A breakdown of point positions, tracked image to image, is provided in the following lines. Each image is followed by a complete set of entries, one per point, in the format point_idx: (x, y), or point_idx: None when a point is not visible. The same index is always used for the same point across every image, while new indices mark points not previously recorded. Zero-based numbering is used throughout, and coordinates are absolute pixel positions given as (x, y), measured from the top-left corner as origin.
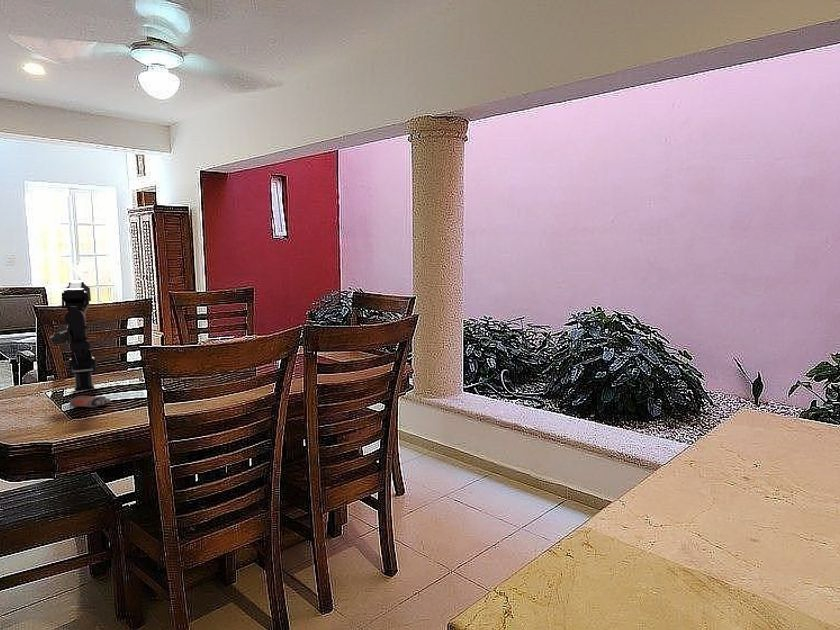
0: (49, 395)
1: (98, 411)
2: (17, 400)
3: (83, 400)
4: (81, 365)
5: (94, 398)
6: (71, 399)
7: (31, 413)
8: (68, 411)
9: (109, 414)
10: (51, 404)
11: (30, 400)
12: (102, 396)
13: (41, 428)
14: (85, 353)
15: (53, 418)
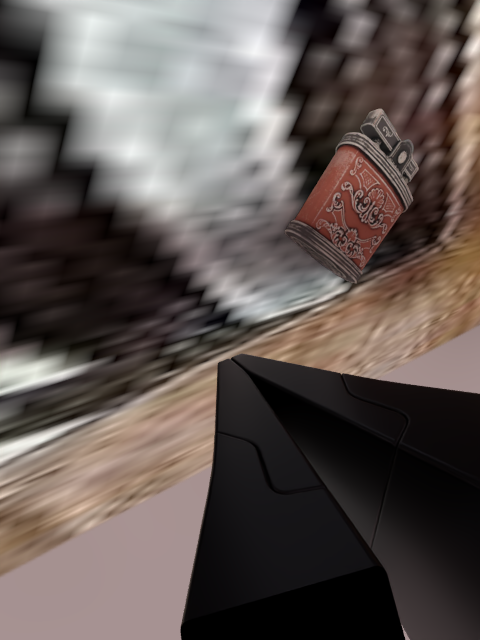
0: (46, 437)
1: (419, 168)
2: (120, 492)
3: (388, 231)
4: (242, 354)
5: (405, 185)
6: (357, 280)
7: (322, 369)
8: None
9: (473, 125)
10: None
11: (136, 455)
12: (378, 148)
13: (455, 294)
14: (428, 398)
15: (402, 294)
